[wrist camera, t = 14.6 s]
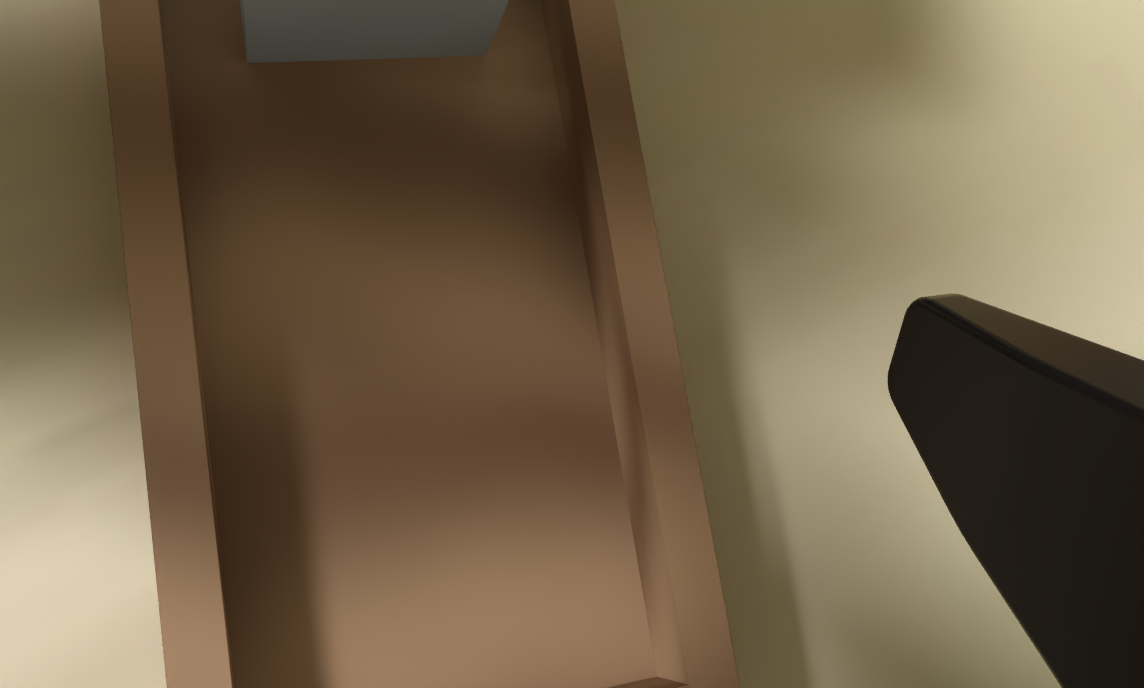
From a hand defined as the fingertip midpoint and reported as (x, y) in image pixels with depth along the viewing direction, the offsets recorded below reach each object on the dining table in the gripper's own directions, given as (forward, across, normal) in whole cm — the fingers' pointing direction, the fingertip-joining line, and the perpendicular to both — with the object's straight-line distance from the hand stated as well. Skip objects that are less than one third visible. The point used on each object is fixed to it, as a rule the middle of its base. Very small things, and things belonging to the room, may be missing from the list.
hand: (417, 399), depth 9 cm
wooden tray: (+14, -2, +5) cm, 15 cm away
